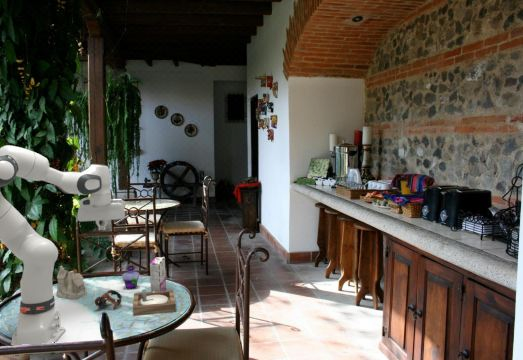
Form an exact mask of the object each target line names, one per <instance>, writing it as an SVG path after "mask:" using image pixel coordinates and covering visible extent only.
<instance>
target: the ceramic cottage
mask: <svg viewBox="0 0 523 360" xmlns="http://www.w3.org/2000/svg"><path fill="white" fill-rule="evenodd" d="M56 279H57V285H56V287H57V288H56V289H57V290H56V293H55V295H56V298H60V299H66V300H78V299H81V298H84V297H86V296H87V294H88V292H87V291H88V290H87V287H86V286H85V281H84V277H83V275H82V274H81V273H75V272H74V270H71V271H68V270H65V268H64V267H63V265H60V266H59V269H58V272H57V276H56Z"/></svg>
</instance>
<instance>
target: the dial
mask: <svg viewBox="0 0 523 360" xmlns="http://www.w3.org/2000/svg"><path fill="white" fill-rule="evenodd" d="M146 292H147V289H145V288H144V289H142V290H141V293H142V299H141V305H150V304H161V303H168V298H167V297H166V296H164V295H150V296H146Z"/></svg>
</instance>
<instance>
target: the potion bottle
mask: <svg viewBox="0 0 523 360" xmlns="http://www.w3.org/2000/svg"><path fill="white" fill-rule="evenodd" d="M125 270H126V271H127V272H124V273H122V274H121V277H122V280H123V282H124V286H125V289H126V290H134V289H136V288H137V286H138V282H139V279H140V274H141V273H139V272H138V271H135V270H136V265H134V263H128V264H127V266H126V267H125Z"/></svg>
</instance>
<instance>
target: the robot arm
mask: <svg viewBox="0 0 523 360" xmlns="http://www.w3.org/2000/svg"><path fill="white" fill-rule="evenodd" d="M16 177H18V178H21V179H24V180H28V181H36V182H40V181H42V182H45V183H49V184H51V185H54V186H55V187H57V188H58V189H59V190H60V191H62V193H64V194H69V195H72V194H73V195H81V196H82V195H83V196H87V197H84V198H82V199H80V201H79V207H78V208H77V209H78V210H77V221H78V222H95V224H96V225H97V227H98V231H106V226H107V225H108V223H109V221H113V220H114V221H115V220H124V219H125V218H126V212H125V208H126V201H125V200H124V199H122V198H117V199H116V198H112V191H111V173H110V168H109V167H108V165H106V164H101V163H91V164H90V166H89V167H88V168H87V169H85V170H83V171H81V172H80V171H79V172H78V171H72V170H67V171H60V170H58V169H55V168H53V167H50V162H49V160H48V158H47V157H45V156H43V155H42V154H40V153H37V152H35V151H33V150H30V149H28V148H23V147H19V146H15V145H8V144H7V145H3V146H1V147H0V188H2V187H5V186H7V185H9V184H11V183H12V182H13V181H14V180H15V178H16ZM88 195H90V196H88ZM100 221H103V222H104V225H100ZM0 241H1V243H2V244H3V245H4V246H5V247H6V248H7V249H8V250H9V251H10V252H11V253H12V254H13V255H14V256H15V257H16V258H17V259H19V260H20V261H22V263H23V272H22V276H21V279H20V281H19V283H20V299H21V300H20V303H19V313H18V314H17V318H18V319H17V326H16V327H15V331H14V333H12V338H11V342H10V346H11V345H22V344H42V343H52V342H55V343H57V341H58V340H59V339H60V338H61V337H62V336H63V334H65V332H66V327H64V326H62V325H61V316H60V315H61V314H60V310H59V309H58V308H57V307H56V302H55V301H56V299H55V296H54V287H53V273H54V267H55V263H56V261H57V260H58V257H59V249H58V247H57V246H56V245H55V243H54V242H52V240H50V239H48V238H45V237H44V236H42V235H40V234H39V233H38V232H37V231H36V230H35V229H34V228H33V227H32V225H30V223H29V222H28V220H27V219H26V218H25V216H23V215H22V214H21V213H20V212H19V211H18V210H17V208H15V207H14V206H13V205H12V203H11V202H9V201H8V200H7V199H6V198H5V197H4V196H3V194H2V192H1V190H0Z"/></svg>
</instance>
